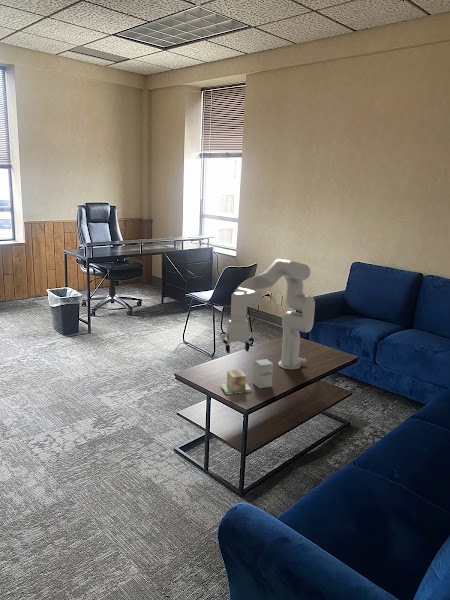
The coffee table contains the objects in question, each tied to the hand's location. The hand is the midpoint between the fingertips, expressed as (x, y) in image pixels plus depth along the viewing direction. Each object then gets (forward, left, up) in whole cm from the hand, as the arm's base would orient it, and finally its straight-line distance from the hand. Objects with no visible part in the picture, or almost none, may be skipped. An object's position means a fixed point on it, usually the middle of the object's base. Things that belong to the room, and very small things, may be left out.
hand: (237, 351), depth 228 cm
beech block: (0, 0, -18) cm, 18 cm away
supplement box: (-15, -2, -20) cm, 25 cm away
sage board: (0, 0, -20) cm, 20 cm away
